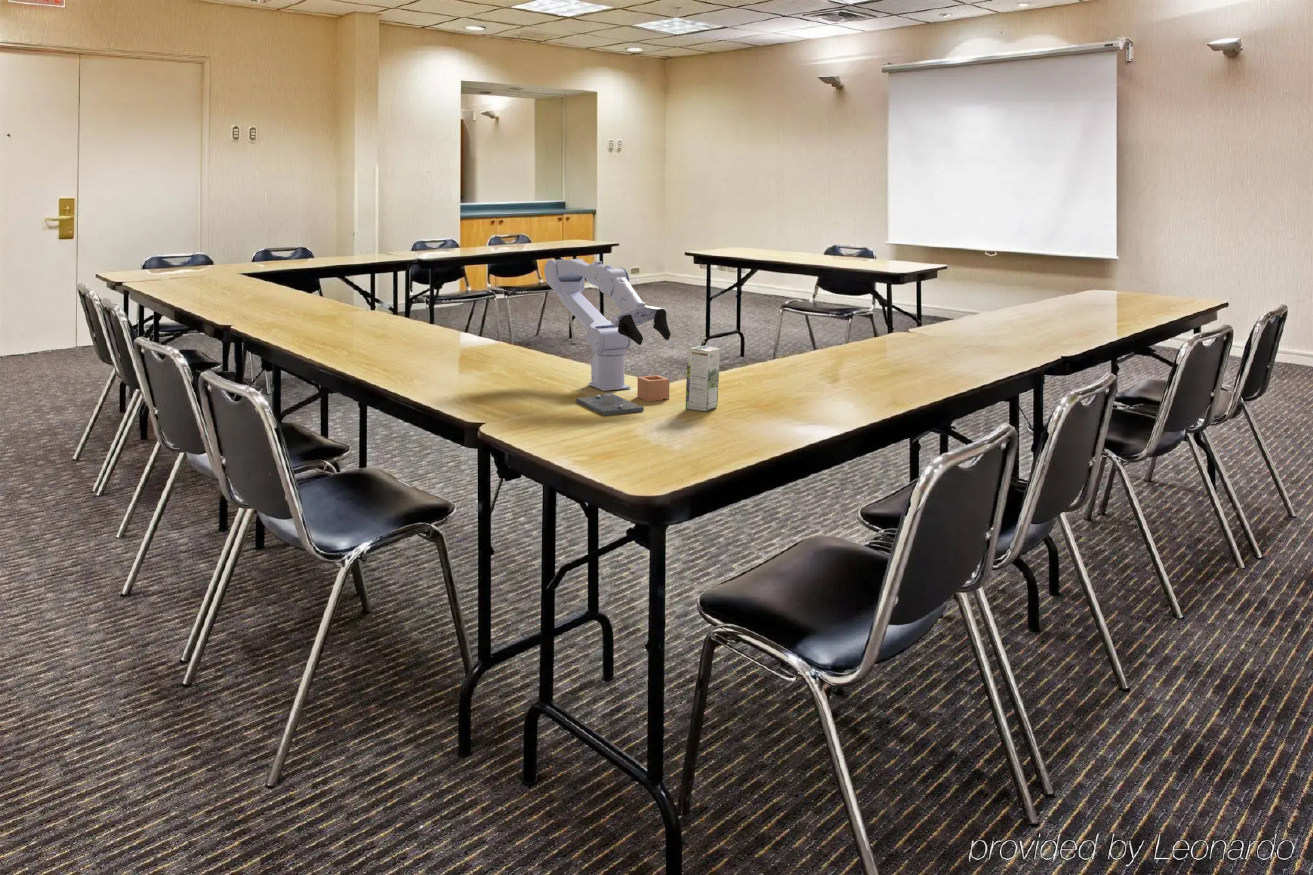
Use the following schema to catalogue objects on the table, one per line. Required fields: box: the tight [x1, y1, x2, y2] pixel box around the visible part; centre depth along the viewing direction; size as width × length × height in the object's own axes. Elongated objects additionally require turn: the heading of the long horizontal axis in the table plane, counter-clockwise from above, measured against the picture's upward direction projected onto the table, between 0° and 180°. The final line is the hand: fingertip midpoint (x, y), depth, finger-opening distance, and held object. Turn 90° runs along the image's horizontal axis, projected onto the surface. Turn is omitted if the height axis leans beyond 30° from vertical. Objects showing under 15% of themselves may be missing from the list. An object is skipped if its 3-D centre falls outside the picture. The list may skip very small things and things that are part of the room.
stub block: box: [575, 392, 645, 417], centre depth 232 cm, size 16×10×3 cm, turn 29°
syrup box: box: [685, 345, 721, 412], centre depth 230 cm, size 6×6×14 cm
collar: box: [637, 374, 671, 402], centre depth 242 cm, size 6×6×5 cm
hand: (654, 339), depth 234 cm, fingers open, 7 cm apart
